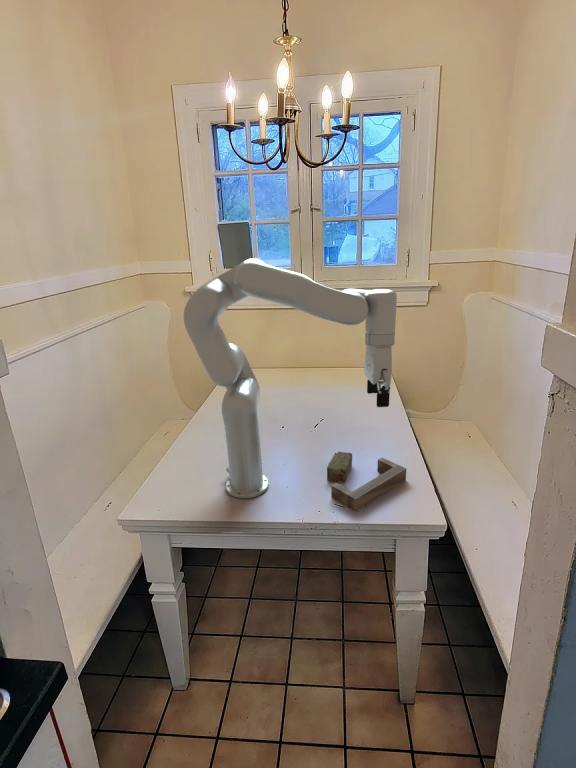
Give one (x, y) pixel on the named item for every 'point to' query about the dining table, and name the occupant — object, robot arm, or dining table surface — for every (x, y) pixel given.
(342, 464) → the stone block
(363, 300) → the robot arm
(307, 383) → the dining table surface
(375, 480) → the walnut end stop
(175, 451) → the dining table surface
